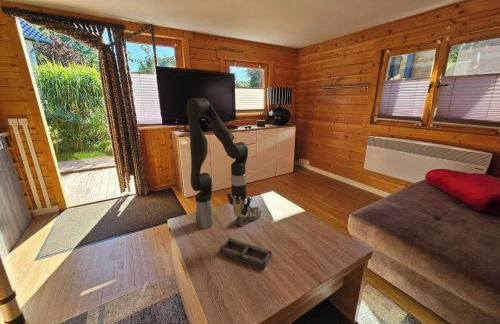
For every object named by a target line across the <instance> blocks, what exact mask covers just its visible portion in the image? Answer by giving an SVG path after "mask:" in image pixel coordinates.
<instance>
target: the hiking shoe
mask: <svg viewBox="0 0 500 324" xmlns="http://www.w3.org/2000/svg"><path fill="white" fill-rule="evenodd" d="M261 215H262V210H261V208H260V207H259V206H254V207H253V206H251V205H249V207H248V208H246V213H245V214H244V215H243V216H242V217H239V216H236V219H235V225H237V226H240V227H245V226H247V225H249V223H250V222H252V221H253V222H254V221H257V220H258V219H259V218H260V217H261Z"/></svg>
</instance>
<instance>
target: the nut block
mask: <svg viewBox="0 0 500 324" xmlns="http://www.w3.org/2000/svg"><path fill="white" fill-rule="evenodd" d="M233 212H234V216H235V217H237V216H239V217H242V216H243V215H242V205H241V204H240V202H239V201H237V202H236V203H234V209H233Z"/></svg>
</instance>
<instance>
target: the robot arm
mask: <svg viewBox="0 0 500 324" xmlns="http://www.w3.org/2000/svg"><path fill="white" fill-rule="evenodd" d="M186 112H187V113H186V115H187V120H188V126H189V127H188V128H189V144H190V146H189V147H190V148H189V149H190V150H189V151H190V185H191V188H192V190H193V191H195V192H198V193H196V195H195V197H194V198H195V207H196V208H195V209H196V210H195V212H194V213H195V222H196V223H195V224H196V225H197V226H198V228H199V229H209V228H211V227H212V226H213V225H214V220H213V216H214V215H213V206H212V205H213V203H212V202H213V201H212V195H213V188H212V187H213V184H212V183H213V181H212V177H211V175H210V173H208V172H201V169H202V166H203V164H204V162H205V160H206V158H207V155H208V151H209V148H208V145H209V144H208V140H207V139H208V138H207V137H206V135H205V134H204V132H203V130H202V128H201V125H200V117H205V118H206V119H207V120H208V121H209V122H210V124H211V125H210V126H211V129H212V132H213V135H214V136H215V137H216V138H217V140H218V141H219V142H220V143H221V144H222V147H223V149H224V151H225V153H226V155H227V156H228V157H229V158H231V159H233V160H234V161H233V162H232V163H231V165H230V170H231V171H230V172H231V173H230V174H231V175H230V183H231V186H230V187H231V192H228V193H227V194H226V196H227V199H228V203H229V205H232V206H233V207H232V209H233V210H234V203H236V202H237V201H239V202H240V204H241V205H242V215H244V214H245V213H246V208H248V207H249V206H251V202H252V200H253V197H252V196H249V195H248V194H247V176H246V175H247V173H246V165H247V161H248V155H249V148H248V145H247V144H246V142H242V141H240V142H236V143H235V142H234V140H235V135H234V134H233V133H232V132H231V130H230V129H229V128H228V127H227V126H226V125H225V123H224V122H223V121H222V119H221V118H220V117H219V115H218V113H217V112H216V110H215V109H214V108H213V106H212V104H211V103H210V101H209V100H208V99H207V98H205V97H194V98H188V100H187V102H186Z"/></svg>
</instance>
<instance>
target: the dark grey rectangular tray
mask: <svg viewBox="0 0 500 324" xmlns="http://www.w3.org/2000/svg"><path fill="white" fill-rule="evenodd" d="M230 246H231V247H233V248H236V249H240V250H242V251H241V252H239V251H237V250H234V249H232V248H230ZM219 252H220V254H221V255H224V256H226V257H229V258H231V259H234V260H237V261H240V262H243V263H246V264H249V265H251V266H253V267H257V268H259V269H262V270H265V269H266V267H267V266H268V264H269V262H270V260H271V259H272V253H273V252H272V251H271V250H268V249H266V248H262V247H259V246H257V245H256V246H255V245H253V244H249V243H246V242H244V241H239V240H237V239H233V238H228V239H227V240H226V241H225V242H224V243H223V244H222V246H220V247H219ZM249 253H251V254H254V255H257V256H260V257H263V258H264V259H261V258H257V257H254V256H253V255H252V256H251V255H249Z"/></svg>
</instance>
